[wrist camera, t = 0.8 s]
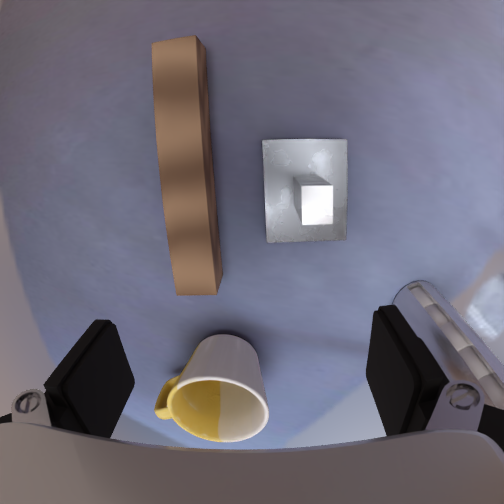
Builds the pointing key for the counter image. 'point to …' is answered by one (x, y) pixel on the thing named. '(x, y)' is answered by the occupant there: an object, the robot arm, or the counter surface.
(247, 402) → the mug
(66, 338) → the counter surface
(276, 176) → the ridge
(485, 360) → the silver metal cylinder
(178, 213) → the walnut beam
